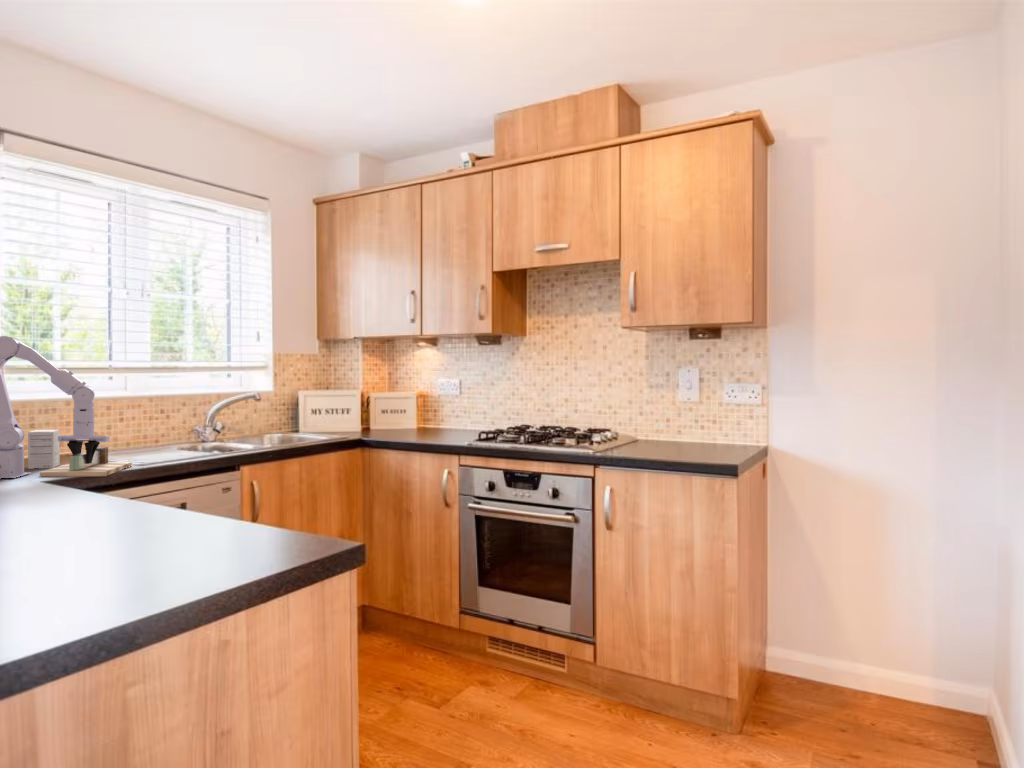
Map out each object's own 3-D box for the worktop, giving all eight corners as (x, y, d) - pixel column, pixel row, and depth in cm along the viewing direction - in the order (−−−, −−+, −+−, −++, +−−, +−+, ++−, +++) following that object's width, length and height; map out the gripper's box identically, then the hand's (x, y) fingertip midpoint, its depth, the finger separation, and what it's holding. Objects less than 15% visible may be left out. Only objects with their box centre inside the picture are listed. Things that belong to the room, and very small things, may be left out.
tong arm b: (73, 470, 201) (73, 455, 201) (69, 470, 201) (69, 455, 201) (94, 463, 215) (95, 450, 215) (90, 463, 215) (90, 450, 215)
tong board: (105, 476, 201) (105, 454, 201) (39, 476, 198) (39, 454, 198) (132, 466, 221) (132, 446, 221) (72, 466, 217) (72, 446, 217)
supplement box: (34, 465, 218) (35, 429, 218) (60, 464, 221) (60, 429, 220) (27, 469, 211) (27, 431, 211) (53, 468, 214) (53, 431, 214)
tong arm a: (78, 469, 201) (78, 455, 201) (74, 469, 201) (74, 455, 201) (100, 463, 215) (100, 450, 215) (95, 463, 215) (96, 450, 215)
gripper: (52, 423, 202) (52, 465, 202) (101, 423, 204) (101, 465, 204) (64, 421, 209) (64, 461, 209) (111, 421, 211) (111, 461, 211)
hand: (83, 463), depth 207 cm, fingers open, 3 cm apart
